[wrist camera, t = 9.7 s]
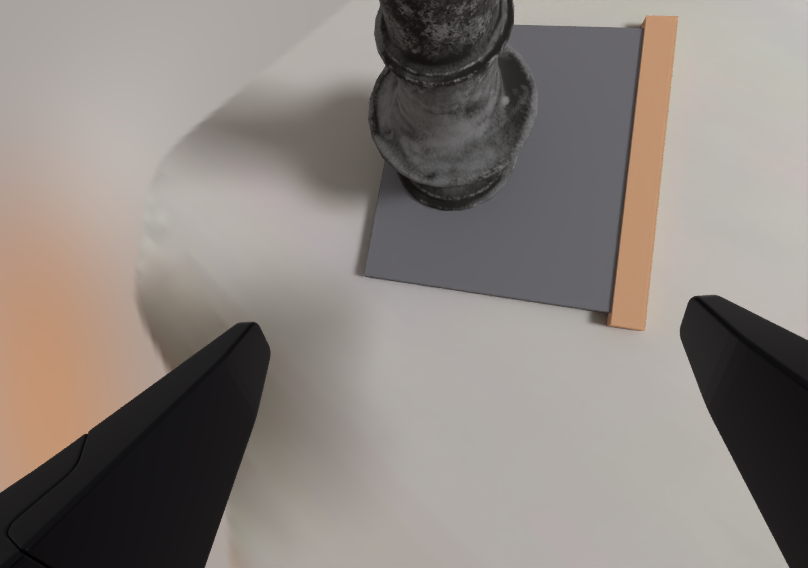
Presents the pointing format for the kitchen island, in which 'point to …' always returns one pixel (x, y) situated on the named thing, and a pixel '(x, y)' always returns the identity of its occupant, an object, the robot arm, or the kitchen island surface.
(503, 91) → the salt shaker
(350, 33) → the kitchen island surface
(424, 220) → the dough scraper
